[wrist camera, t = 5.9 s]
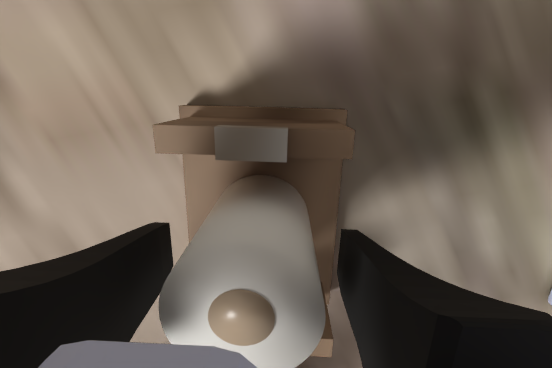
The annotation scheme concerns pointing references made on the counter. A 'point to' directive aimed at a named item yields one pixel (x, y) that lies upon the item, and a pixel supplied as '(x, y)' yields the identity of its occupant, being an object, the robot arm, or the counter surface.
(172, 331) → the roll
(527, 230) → the counter surface
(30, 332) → the robot arm
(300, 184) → the holder
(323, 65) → the counter surface
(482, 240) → the counter surface
